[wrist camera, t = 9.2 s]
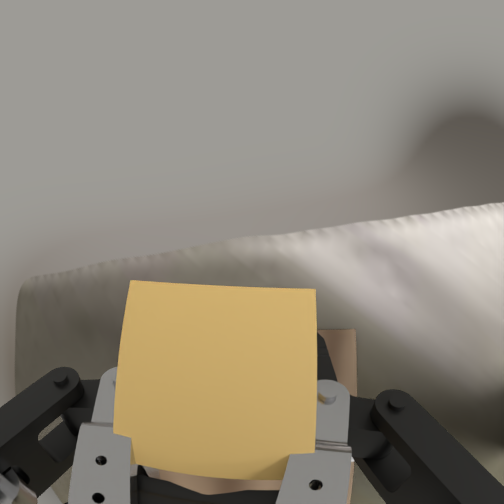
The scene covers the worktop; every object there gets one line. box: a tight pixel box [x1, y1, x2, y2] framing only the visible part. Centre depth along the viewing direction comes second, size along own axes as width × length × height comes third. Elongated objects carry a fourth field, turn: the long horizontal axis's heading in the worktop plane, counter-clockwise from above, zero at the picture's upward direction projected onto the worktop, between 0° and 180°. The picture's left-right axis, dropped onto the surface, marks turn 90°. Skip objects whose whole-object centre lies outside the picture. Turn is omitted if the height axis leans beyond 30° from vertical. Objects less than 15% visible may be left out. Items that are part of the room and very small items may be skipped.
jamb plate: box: [159, 329, 357, 504], centre depth 19 cm, size 20×20×4 cm
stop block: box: [113, 280, 317, 480], centre depth 9 cm, size 4×4×10 cm
